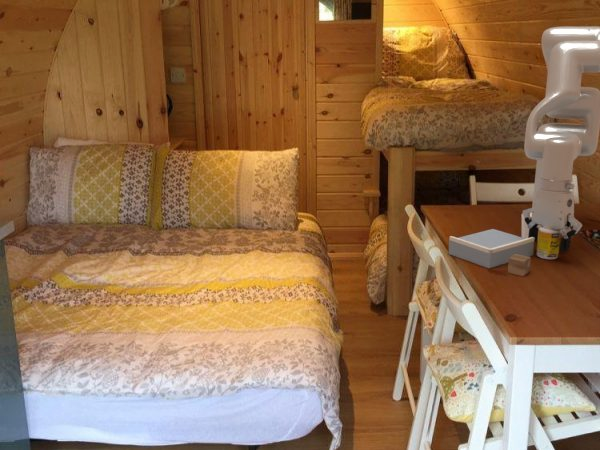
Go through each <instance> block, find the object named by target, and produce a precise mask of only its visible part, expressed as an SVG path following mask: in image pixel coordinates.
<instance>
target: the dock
mask: <svg viewBox="0 0 600 450" xmlns="http://www.w3.org/2000/svg"><path fill="white" fill-rule="evenodd" d="M448 240H449V241H448V255H451V256H453V257H456V258H458V259H461V260H464V261H467V262H471V263H473V264H475V265H479V266H481V267H484V268H486V269H492V268H496V267H498V266H502V265H505V264H508V263H509V258H510V257H511V256H513V255H515V254H518V255H522V256H527V257H531V256H534V247H535V242H534V240H535V238H534V237H530V238H527V239H525V238H522V236H518V235H516V234H515V235H514V234H511V233H509V232H504V231H502V230H498V229H494V228H491V229H487V230H483V231H480V232H476V233H472V234H467V235H464V236H459V237H456V236H453V235H450V236H449V239H448Z"/></svg>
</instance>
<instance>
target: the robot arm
mask: <svg viewBox="0 0 600 450" xmlns="http://www.w3.org/2000/svg"><path fill="white" fill-rule="evenodd" d="M541 51H542V54H543V57H544V61H545V65H546V69H547V75H546V77H547V78H546V88H545V97H544V98H543V99H542V100H540V102H538V103H537V105H535V107H534V108H533V109H532V111H531V112H530V115H529V116H528V119H527V121H526V126H525V136H524V144H523V145H524V147H523V148H524V149H523V150H524V154H525V156H526V157H527V158H528V159H531V160H536V166H535V175H534V177H535V178H534V187H533V197H532V203H531V204H532V207H530V208H527V209H524V210H522V214H523V215H524V217H525V219H524V220H525V222H526V223H527V227H528V228H529V236H528V238H530V237H534V238H535V240H534V243H536V242H537V243H538V231H539V229H538V227H537V226H538V225H542V226H547V227H550V228H553V229H557V230H560V232H561V236H562V237H560V244H559V252H560V253H562V254H563V253H566V252H569V251H570V250H569V249H570V248H571V241H572V238H574V236H576V235H577V234H578V233H579V231H580V230H581V229H582V227H583V224H582V222H580V221H579V220H578V219H576V217H575V215H574V214H575V199H574V192H573V191H572V190H575V188H576V187H575V183H572V176H573V166H574V161H575V160H576V159H577V158H578V157H579V156H580V157H582V156H583V157H585V156H586V157H588V156H592V155H594V154H595V153H596V151H597V148H598V143H599V135H600V90H599V88H596V87H590V86H589V87H588V86H581V85H582V75H583V74H590V73H592V74H597V73H598V74H599V73H600V26H597V25H596V26H595V25H592V26H577V25H576V26H572V25H571V26H569V25H568V26H567V25H566V26H565V25H564V26H563V25H562V26H553V27H550V28H547V29H545V30H544V31H543V33H542V36H541ZM544 116H547V117H549V118H553V119H563V120H566V119H567V120H581V121H583V123H569V122H548V123H544V124H541V126H539V128H538V129H537V127H538V124H539V121H540V120H541V119H542V118H543V117H544ZM530 213H532V216H531V217H530ZM571 228H572V229H571Z"/></svg>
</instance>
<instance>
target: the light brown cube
mask: <svg viewBox="0 0 600 450" xmlns="http://www.w3.org/2000/svg"><path fill="white" fill-rule="evenodd" d="M531 258H532V257H531V256H528V257H527V256H522V255H518V254H515V255H513V256H511V257H510V258H509V263H507V264H508V265H507V267H508V268H507V274H512V275H517V276H520V277H524V276H526V275H527V274H528V273H530V268H531Z"/></svg>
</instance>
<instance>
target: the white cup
mask: <svg viewBox="0 0 600 450" xmlns="http://www.w3.org/2000/svg"><path fill="white" fill-rule="evenodd" d="M531 216H532V213H530V217H531ZM524 219H525V217H524V215H523V213H521V237H522V238H525V239H527V238H528V236H529V228H528V227H527V223H526V222H525V220H524ZM541 226H542V225H538V226H537V227H538V229H539V228H540V227H541ZM538 234H539V231H538Z"/></svg>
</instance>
